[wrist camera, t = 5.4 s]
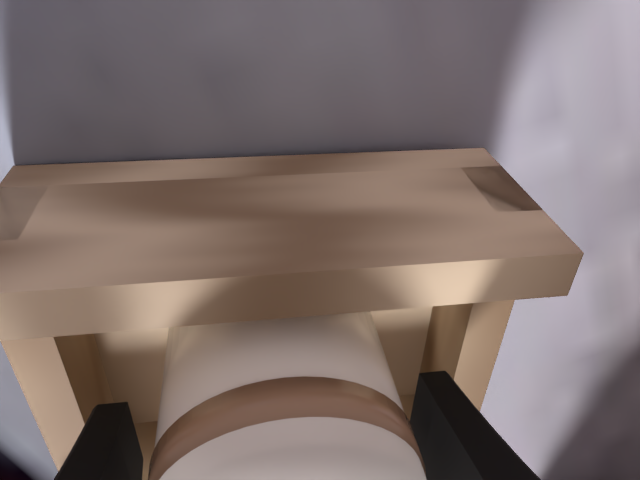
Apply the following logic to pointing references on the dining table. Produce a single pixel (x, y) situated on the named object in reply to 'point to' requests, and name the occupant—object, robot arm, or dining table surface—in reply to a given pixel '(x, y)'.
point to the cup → (282, 403)
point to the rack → (260, 267)
